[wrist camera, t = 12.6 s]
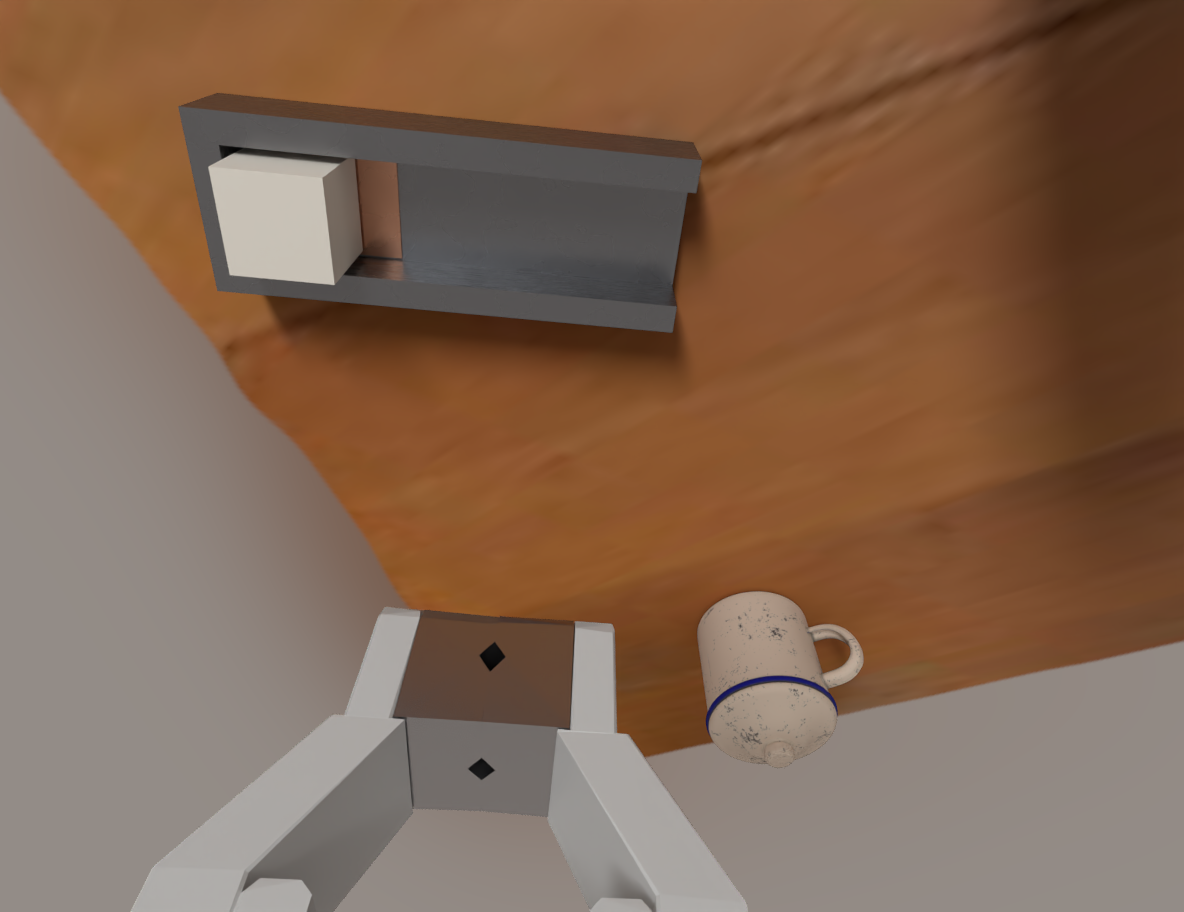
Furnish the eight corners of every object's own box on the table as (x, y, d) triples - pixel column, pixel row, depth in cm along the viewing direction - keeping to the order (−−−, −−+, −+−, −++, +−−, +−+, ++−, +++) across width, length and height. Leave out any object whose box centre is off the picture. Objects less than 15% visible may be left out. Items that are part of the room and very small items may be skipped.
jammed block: (354, 153, 36) (322, 178, 32) (362, 250, 39) (334, 284, 35) (253, 142, 36) (208, 166, 32) (269, 241, 39) (229, 275, 35)
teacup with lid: (722, 677, 61) (745, 811, 51) (673, 612, 56) (688, 746, 47) (860, 629, 57) (912, 763, 48) (819, 555, 53) (867, 687, 43)
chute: (693, 142, 37) (701, 160, 34) (666, 303, 42) (672, 332, 39) (217, 93, 36) (178, 106, 33) (248, 264, 41) (217, 290, 38)
